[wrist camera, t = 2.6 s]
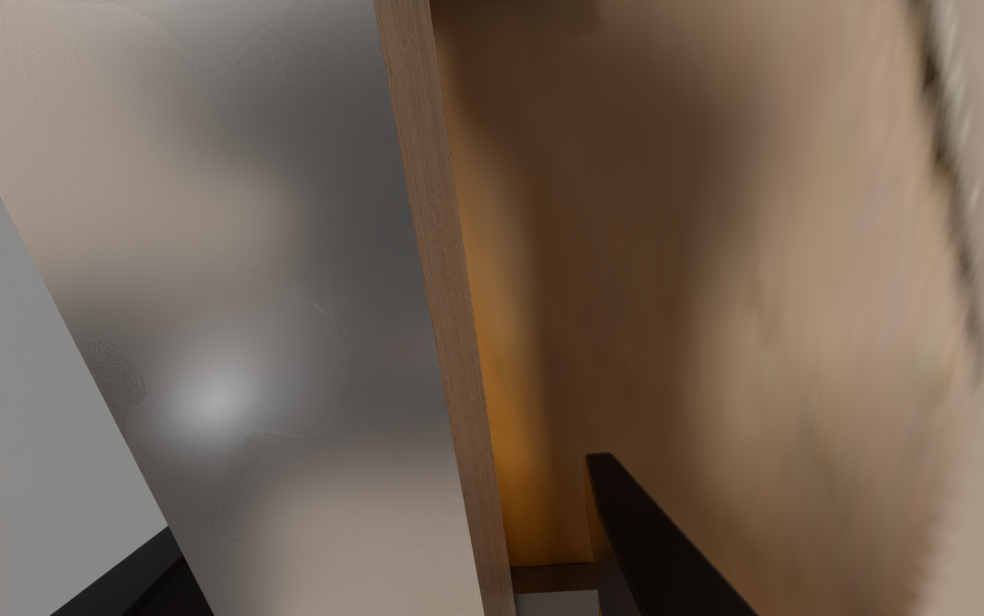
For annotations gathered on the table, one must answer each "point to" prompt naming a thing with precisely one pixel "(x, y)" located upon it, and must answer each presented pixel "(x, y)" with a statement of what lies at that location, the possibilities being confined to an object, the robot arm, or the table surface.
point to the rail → (267, 288)
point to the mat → (57, 454)
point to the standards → (555, 590)
